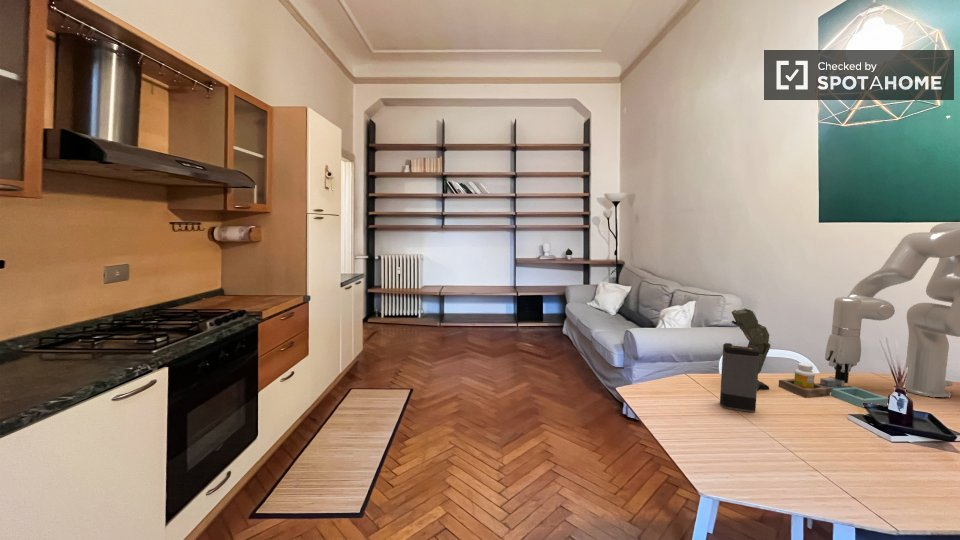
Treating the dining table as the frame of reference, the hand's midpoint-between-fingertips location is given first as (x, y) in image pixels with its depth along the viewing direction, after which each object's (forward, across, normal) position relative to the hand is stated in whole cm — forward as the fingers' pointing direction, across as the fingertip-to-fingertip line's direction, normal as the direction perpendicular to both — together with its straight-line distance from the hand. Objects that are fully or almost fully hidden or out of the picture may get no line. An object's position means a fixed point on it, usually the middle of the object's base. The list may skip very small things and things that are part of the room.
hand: (841, 381), depth 143 cm
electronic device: (+3, +50, +8) cm, 51 cm away
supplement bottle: (+3, +16, 0) cm, 16 cm away
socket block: (+3, +16, 0) cm, 16 cm away
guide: (+3, +4, 0) cm, 5 cm away
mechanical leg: (+3, +32, -7) cm, 33 cm away
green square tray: (+3, +5, +10) cm, 12 cm away
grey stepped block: (+3, +5, 0) cm, 5 cm away
